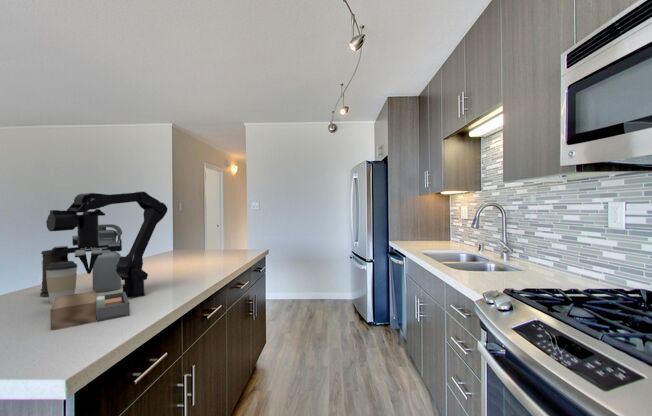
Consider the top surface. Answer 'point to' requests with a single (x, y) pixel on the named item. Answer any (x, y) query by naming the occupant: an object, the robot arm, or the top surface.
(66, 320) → the block
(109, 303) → the terracotta tile
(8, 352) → the top surface
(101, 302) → the sage tile
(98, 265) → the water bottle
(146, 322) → the top surface
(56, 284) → the coffee cup
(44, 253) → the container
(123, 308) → the box
